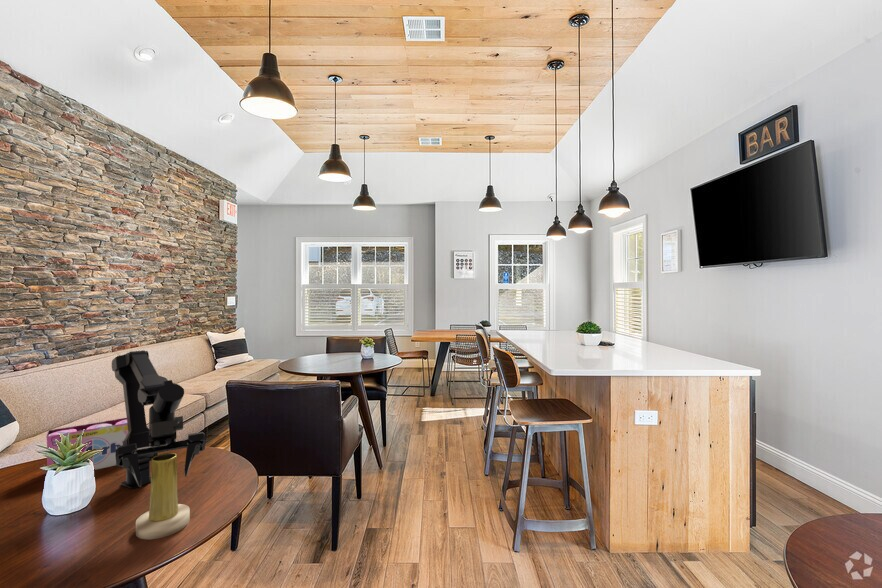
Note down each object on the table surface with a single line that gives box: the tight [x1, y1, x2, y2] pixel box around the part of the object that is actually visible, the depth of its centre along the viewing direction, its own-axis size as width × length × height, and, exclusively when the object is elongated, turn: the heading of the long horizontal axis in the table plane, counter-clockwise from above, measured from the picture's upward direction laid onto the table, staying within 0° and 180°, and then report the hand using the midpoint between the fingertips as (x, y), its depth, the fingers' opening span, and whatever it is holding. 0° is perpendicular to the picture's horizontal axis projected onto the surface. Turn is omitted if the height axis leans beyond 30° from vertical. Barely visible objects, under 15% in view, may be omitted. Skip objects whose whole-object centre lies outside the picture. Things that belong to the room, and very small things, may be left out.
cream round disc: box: [135, 503, 191, 540], centre depth 102 cm, size 11×11×3 cm
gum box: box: [45, 417, 128, 471], centre depth 137 cm, size 24×8×14 cm, turn 131°
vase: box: [148, 452, 179, 521], centre depth 102 cm, size 6×6×14 cm
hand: (163, 480), depth 101 cm, fingers open, 9 cm apart
